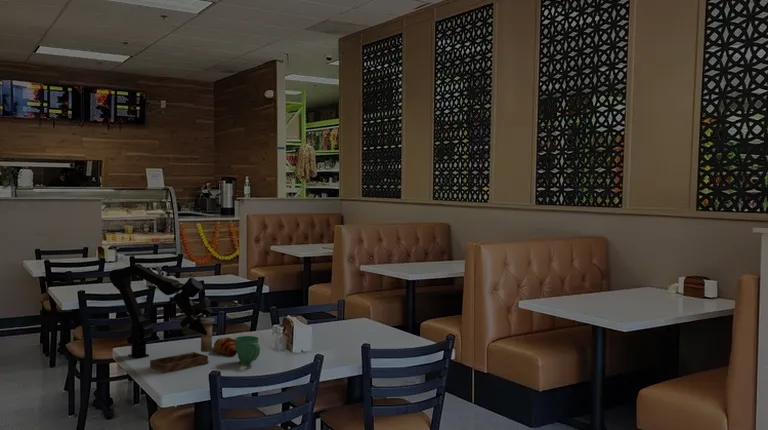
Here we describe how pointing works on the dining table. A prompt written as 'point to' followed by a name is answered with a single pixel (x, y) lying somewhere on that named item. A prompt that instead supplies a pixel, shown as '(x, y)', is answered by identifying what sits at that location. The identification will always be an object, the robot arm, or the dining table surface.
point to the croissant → (225, 346)
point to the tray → (178, 362)
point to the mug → (247, 348)
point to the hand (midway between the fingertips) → (209, 333)
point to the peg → (207, 339)
